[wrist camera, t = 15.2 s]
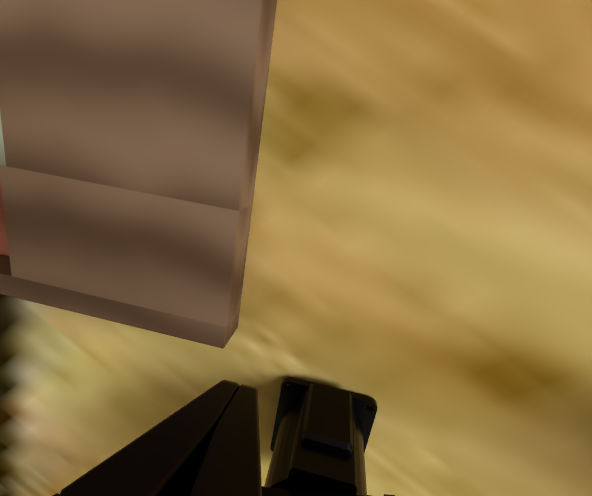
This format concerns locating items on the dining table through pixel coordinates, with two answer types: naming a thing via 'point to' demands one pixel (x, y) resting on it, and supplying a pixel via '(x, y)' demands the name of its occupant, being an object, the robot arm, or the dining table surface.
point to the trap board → (132, 157)
